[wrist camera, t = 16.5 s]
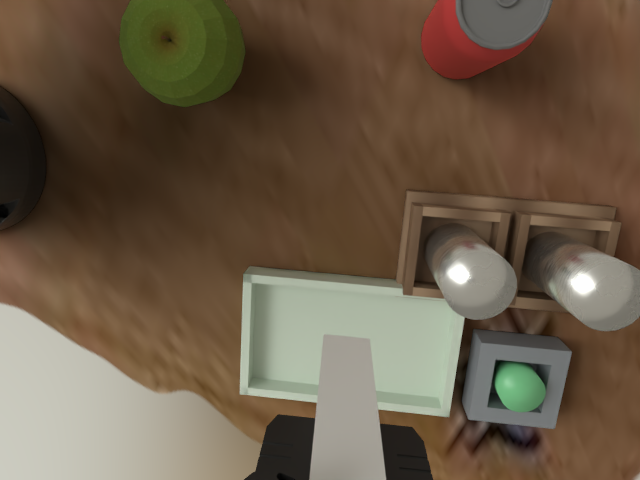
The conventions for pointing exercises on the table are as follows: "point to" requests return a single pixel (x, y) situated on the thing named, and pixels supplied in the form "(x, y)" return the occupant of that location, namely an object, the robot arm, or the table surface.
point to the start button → (518, 385)
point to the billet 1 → (469, 272)
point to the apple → (182, 48)
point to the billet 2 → (584, 280)
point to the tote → (353, 321)
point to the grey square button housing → (536, 350)
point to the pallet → (498, 235)
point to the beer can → (479, 33)
